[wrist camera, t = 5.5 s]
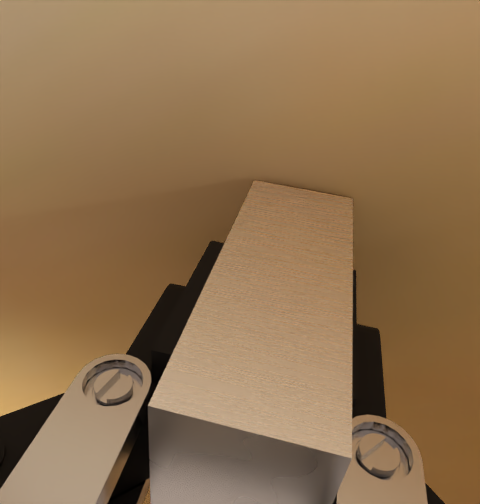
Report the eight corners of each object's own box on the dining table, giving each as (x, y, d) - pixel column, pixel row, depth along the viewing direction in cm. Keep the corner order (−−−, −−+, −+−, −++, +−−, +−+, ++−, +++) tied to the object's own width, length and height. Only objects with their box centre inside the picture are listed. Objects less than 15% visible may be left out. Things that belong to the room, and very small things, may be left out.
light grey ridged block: (254, 180, 11) (147, 405, 5) (353, 198, 11) (352, 458, 5) (235, 324, 14) (152, 573, 8) (313, 341, 14) (284, 614, 8)
